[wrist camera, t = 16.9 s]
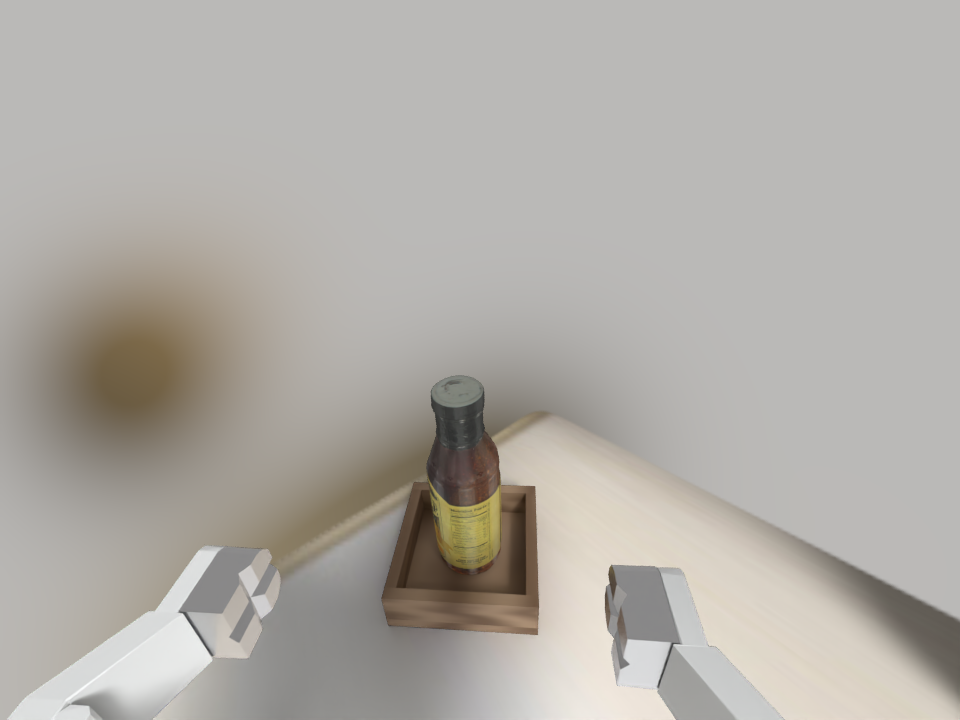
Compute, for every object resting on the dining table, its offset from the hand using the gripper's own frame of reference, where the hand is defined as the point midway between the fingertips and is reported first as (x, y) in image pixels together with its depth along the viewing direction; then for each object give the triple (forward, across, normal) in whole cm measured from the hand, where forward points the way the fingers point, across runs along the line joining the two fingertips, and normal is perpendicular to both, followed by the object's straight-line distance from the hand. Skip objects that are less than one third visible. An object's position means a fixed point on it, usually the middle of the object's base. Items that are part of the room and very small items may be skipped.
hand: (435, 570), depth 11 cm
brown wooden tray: (+21, +3, +30) cm, 37 cm away
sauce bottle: (+22, +3, +29) cm, 36 cm away
